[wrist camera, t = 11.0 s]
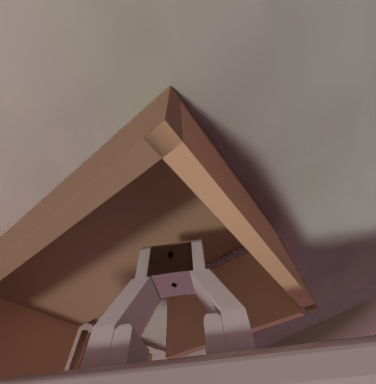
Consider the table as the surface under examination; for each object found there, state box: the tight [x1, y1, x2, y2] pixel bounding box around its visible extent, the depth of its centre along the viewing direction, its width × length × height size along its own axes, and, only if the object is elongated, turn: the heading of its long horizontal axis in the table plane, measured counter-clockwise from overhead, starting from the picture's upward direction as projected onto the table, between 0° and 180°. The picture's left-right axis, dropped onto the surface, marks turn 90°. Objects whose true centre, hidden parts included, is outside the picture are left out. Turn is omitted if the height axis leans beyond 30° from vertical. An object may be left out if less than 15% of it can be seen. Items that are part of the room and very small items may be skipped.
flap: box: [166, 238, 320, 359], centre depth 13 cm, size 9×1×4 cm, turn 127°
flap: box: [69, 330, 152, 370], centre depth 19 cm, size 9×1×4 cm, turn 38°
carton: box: [0, 86, 315, 378], centre depth 12 cm, size 20×10×5 cm, turn 127°
